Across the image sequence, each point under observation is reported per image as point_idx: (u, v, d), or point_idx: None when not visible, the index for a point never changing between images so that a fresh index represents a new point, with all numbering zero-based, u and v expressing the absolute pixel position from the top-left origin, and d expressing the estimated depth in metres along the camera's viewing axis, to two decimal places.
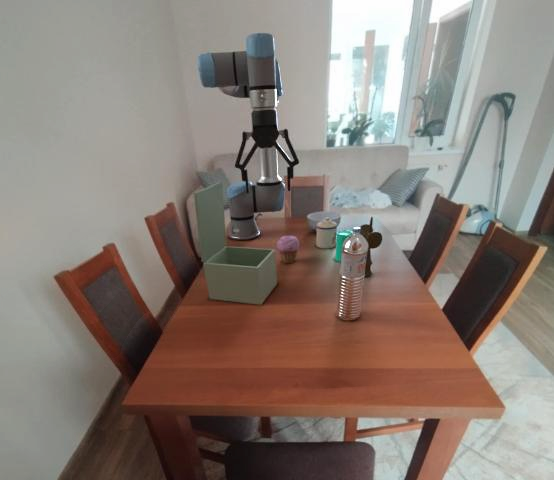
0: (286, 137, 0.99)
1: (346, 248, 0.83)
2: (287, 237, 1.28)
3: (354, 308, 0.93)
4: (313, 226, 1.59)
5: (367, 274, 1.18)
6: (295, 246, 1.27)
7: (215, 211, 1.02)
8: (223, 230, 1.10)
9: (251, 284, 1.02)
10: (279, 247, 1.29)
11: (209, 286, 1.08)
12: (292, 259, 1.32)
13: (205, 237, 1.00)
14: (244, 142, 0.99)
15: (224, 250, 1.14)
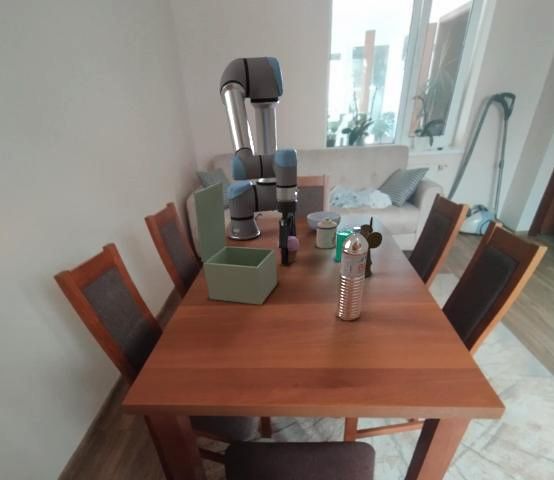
0: (294, 217, 1.29)
1: (346, 248, 0.83)
2: None
3: (354, 308, 0.93)
4: (313, 226, 1.59)
5: (367, 274, 1.18)
6: (295, 246, 1.27)
7: (215, 211, 1.02)
8: (223, 230, 1.10)
9: (251, 284, 1.02)
10: None
11: (209, 286, 1.08)
12: (292, 259, 1.32)
13: (205, 237, 1.00)
14: (286, 227, 1.21)
15: (224, 250, 1.14)
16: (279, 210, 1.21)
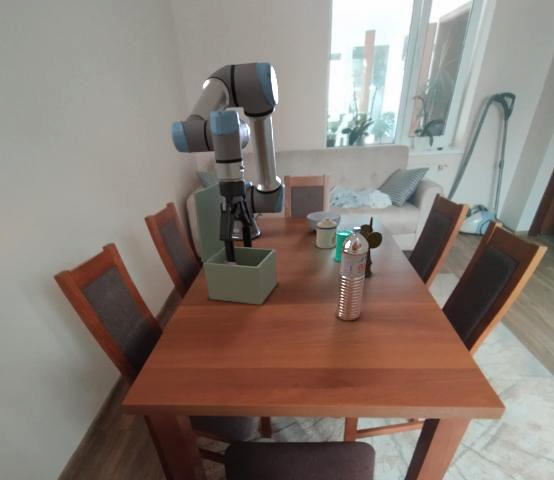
0: (246, 201, 1.02)
1: (346, 248, 0.83)
2: None
3: (354, 308, 0.93)
4: (313, 226, 1.59)
5: (367, 274, 1.18)
6: None
7: (215, 211, 1.02)
8: None
9: (251, 284, 1.02)
10: None
11: (209, 286, 1.08)
12: None
13: (205, 237, 1.00)
14: (229, 213, 0.93)
15: (224, 250, 1.14)
16: (221, 193, 0.93)
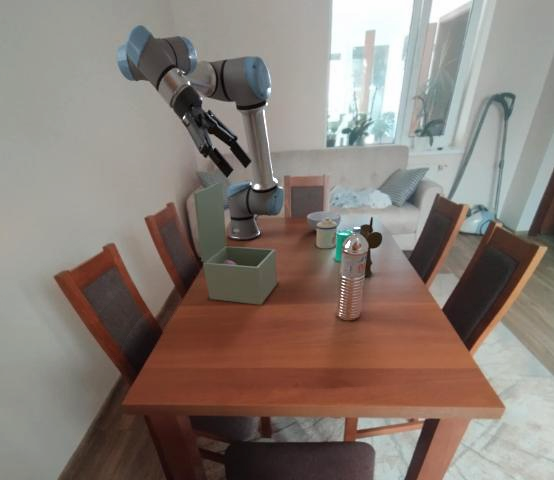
0: (214, 116, 0.90)
1: (346, 248, 0.83)
2: None
3: (354, 308, 0.93)
4: (313, 226, 1.59)
5: (367, 274, 1.18)
6: None
7: (215, 211, 1.02)
8: (223, 230, 1.10)
9: (251, 284, 1.02)
10: None
11: (209, 286, 1.08)
12: None
13: (205, 237, 1.00)
14: (194, 122, 0.81)
15: (224, 250, 1.14)
16: (180, 116, 0.84)
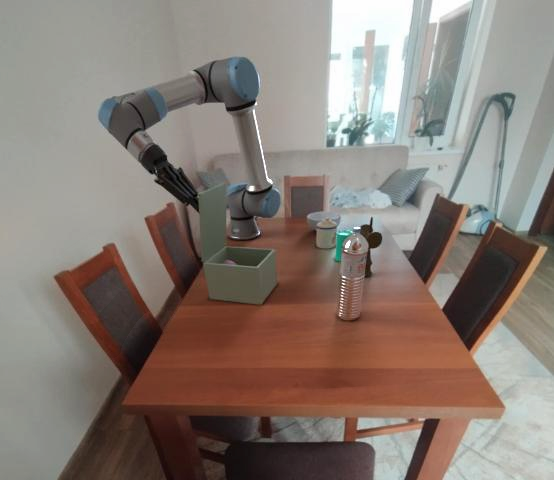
0: (182, 172, 1.01)
1: (346, 248, 0.83)
2: None
3: (354, 308, 0.93)
4: (313, 226, 1.59)
5: (367, 274, 1.18)
6: None
7: (218, 212, 1.02)
8: (224, 230, 1.10)
9: (251, 284, 1.02)
10: None
11: (209, 286, 1.08)
12: None
13: (206, 237, 1.00)
14: (166, 179, 0.94)
15: (224, 250, 1.14)
16: (147, 170, 0.96)
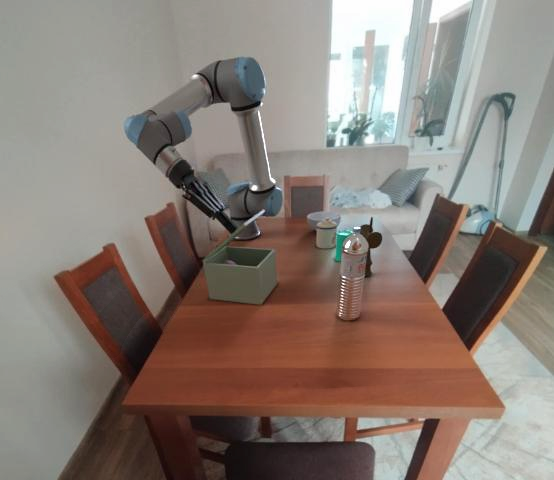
0: (208, 186, 1.01)
1: (346, 248, 0.83)
2: None
3: (354, 308, 0.93)
4: (313, 226, 1.59)
5: (367, 274, 1.18)
6: None
7: (242, 230, 1.03)
8: None
9: (251, 284, 1.02)
10: None
11: (209, 286, 1.08)
12: None
13: (220, 248, 1.01)
14: (194, 194, 0.94)
15: (224, 250, 1.14)
16: (175, 184, 0.96)
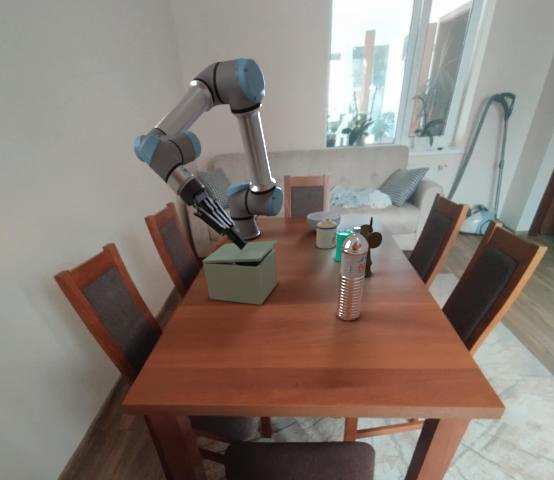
0: (218, 203, 1.03)
1: (346, 248, 0.83)
2: None
3: (354, 308, 0.93)
4: (313, 226, 1.59)
5: (367, 274, 1.18)
6: None
7: None
8: None
9: (251, 284, 1.02)
10: None
11: (209, 286, 1.08)
12: None
13: None
14: (205, 211, 0.97)
15: None
16: (186, 202, 0.98)
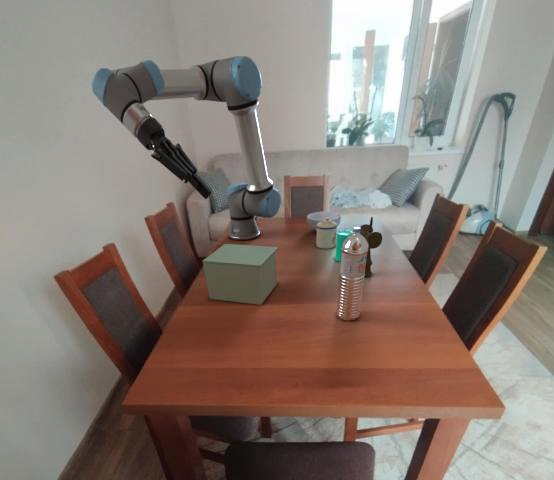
0: (180, 148, 0.97)
1: (346, 248, 0.83)
2: None
3: (354, 308, 0.93)
4: (313, 226, 1.59)
5: (367, 274, 1.18)
6: None
7: None
8: None
9: (251, 284, 1.02)
10: None
11: (209, 286, 1.08)
12: None
13: None
14: (164, 153, 0.90)
15: None
16: (144, 144, 0.92)
